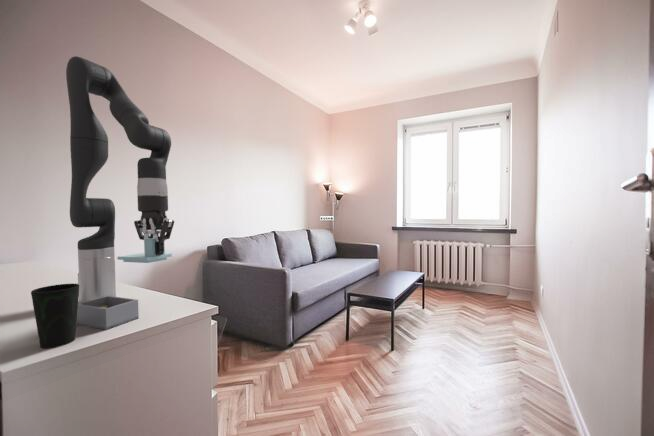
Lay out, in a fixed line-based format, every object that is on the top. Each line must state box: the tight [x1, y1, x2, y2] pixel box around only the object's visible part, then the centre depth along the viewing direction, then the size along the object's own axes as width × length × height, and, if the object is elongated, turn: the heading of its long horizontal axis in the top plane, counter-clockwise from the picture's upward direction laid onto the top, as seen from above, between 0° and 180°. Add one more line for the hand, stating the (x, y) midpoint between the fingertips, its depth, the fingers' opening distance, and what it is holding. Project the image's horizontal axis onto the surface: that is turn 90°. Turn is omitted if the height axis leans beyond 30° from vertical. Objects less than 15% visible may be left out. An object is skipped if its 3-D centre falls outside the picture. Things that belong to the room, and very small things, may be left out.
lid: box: [116, 238, 173, 264], centre depth 85 cm, size 12×8×7 cm, turn 69°
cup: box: [30, 283, 79, 349], centre depth 63 cm, size 8×8×12 cm
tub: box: [76, 296, 140, 331], centre depth 75 cm, size 12×8×5 cm, turn 69°
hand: (155, 254), depth 84 cm, fingers closed on lid, 3 cm apart
